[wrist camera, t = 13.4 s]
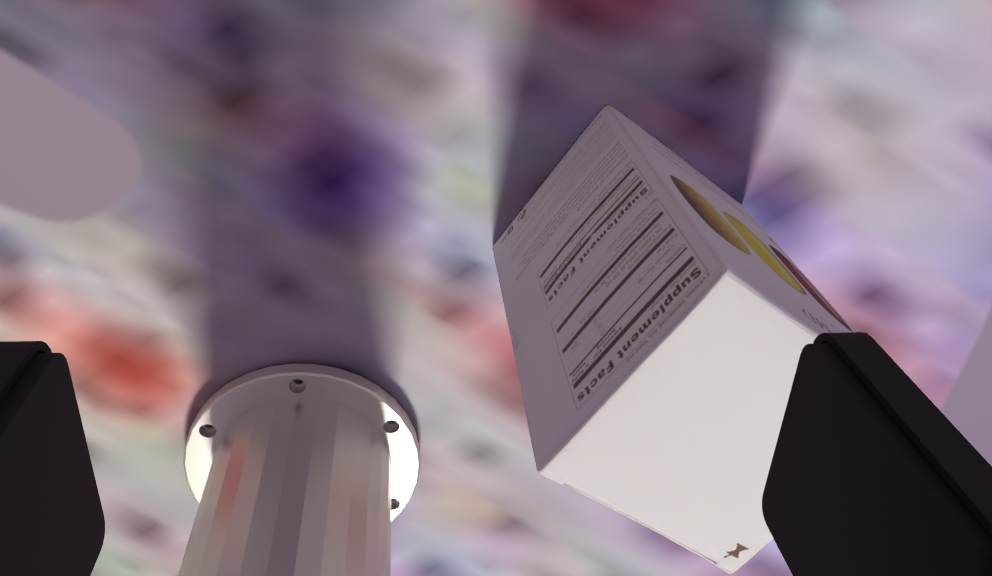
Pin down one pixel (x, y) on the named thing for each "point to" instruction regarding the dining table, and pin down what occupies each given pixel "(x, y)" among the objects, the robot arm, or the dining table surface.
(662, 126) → the dining table surface
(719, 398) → the supplement box
